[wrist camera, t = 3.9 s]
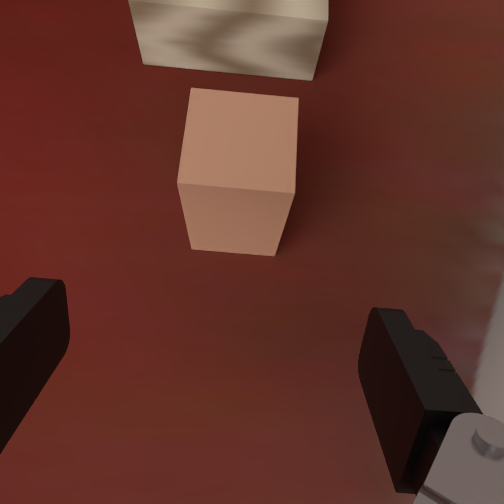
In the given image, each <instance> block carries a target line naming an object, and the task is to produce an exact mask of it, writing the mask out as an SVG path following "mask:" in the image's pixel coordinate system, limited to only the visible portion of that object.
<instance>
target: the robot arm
mask: <svg viewBox="0 0 504 504" xmlns="http://www.w3.org/2000/svg"><path fill="white" fill-rule="evenodd" d="M69 339H70V325H69V316H68V306H67V297H66V288H65V284H64V282H63V281H62V280H57V279H46V278H34V277H31V278H28V279H27V280H26V281H25V282H24V283H23V284H22V285H21V286H20V287H19V288H18V289H17V290H16V291H15V292H14V293H13V294H11V295H4V296H2V297H0V454H1V452H2V451H3V449H4V447H5V446H6V444H7V443H8V441H9V440H10V438H11V437H12V435H13V433H14V432H15V430H16V429H17V427H18V426H19V424H20V423H21V421H22V420H23V418H24V416H25V415H26V413H27V412H28V410H29V409H30V407H31V406H32V404H33V403H34V401H35V399H36V398H37V396H38V395H39V393H40V392H41V390H42V389H43V387H44V386H45V384H46V382H47V381H48V379H49V378H50V376H51V375H52V373H53V372H54V370H55V369H56V367H57V365H58V364H59V362H60V361H61V359H62V358H63V356H64V354H65V353H66V350H67V348H68V344H69ZM358 373H359V378H360V382H361V385H362V388H363V391H364V394H365V397H366V401H367V404H368V407H369V410H370V413H371V416H372V419H373V422H374V426H375V429H376V432H377V435H378V438H379V441H380V444H381V447H382V450H383V454H384V457H385V460H386V463H387V466H388V469H389V472H390V475H391V479H392V482H393V485H394V488H395V491H396V493H410V494H415V495H416V499H415V501H414V503H413V504H504V424H503V423H502V422H500V421H498V420H496V419H494V418H491V417H489V416H485V415H483V413H482V412H481V410H480V408H479V407H478V405H477V404H476V402H475V400H474V399H473V397H472V396H471V394H470V393H469V391H468V389H467V388H466V386H465V385H464V383H463V382H462V380H461V378H460V377H459V375H458V374H457V373H455V369H454V367H453V366H452V364H451V363H450V361H447V356H446V355H445V353H444V352H443V350H442V349H441V347H440V345H439V344H438V343H437V342H436V341H435V340H433V339H432V338H431V337H430V336H429V335H427V334H426V333H425V332H424V331H423V330H415V329H414V327H413V325H412V324H411V322H410V320H409V319H408V317H407V315H406V313H405V312H404V311H403V310H400V309H388V308H376V307H374V308H372V309H371V311H370V314H369V317H368V321H367V325H366V329H365V333H364V337H363V341H362V345H361V349H360V354H359V360H358Z"/></svg>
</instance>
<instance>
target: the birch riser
mask: <svg viewBox="0 0 504 504" xmlns="http://www.w3.org/2000/svg"><path fill="white" fill-rule="evenodd" d="M128 2H129V6H130V10H131V14H132V18H133V23H134V27H135V31H136V35H137V39H138V43H139V48H140V52H141V56H142V60H143V64H146V65H156V66H166V67H176V68H187V69H197V70H207V71H217V72H227V73H237V74H248V75H258V76H268V77H278V78H288V79H299V80H309V81H312V80H313V76H314V73H315V69H316V65H317V61H318V57H319V54H320V50H321V46H322V42H323V39H324V35H325V31H326V27H327V23H328V0H128Z"/></svg>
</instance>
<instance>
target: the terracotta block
mask: <svg viewBox="0 0 504 504" xmlns="http://www.w3.org/2000/svg"><path fill="white" fill-rule="evenodd" d="M298 100H299V98H293V97H282V96H272V95H262V94H251V93H241V92H230V91H220V90H209V89H199V88H191V92H190V99H189V105H188V112H187V119H186V126H185V132H184V139H183V146H182V153H181V159H180V166H179V173H178V179H177V185H178V190H179V194H180V199H181V203H182V208H183V212H184V217H185V221H186V226H187V230H188V235H189V239H190V244H191V248H192V249H195V250H207V251H219V252H231V253H243V254H254V255H266V256H275V254H276V251H277V248H278V245H279V242H280V238H281V235H282V232H283V229H284V226H285V223H286V220H287V217H288V214H289V210H290V207H291V204H292V201H293V198H294V195H295V180H296V153H297V127H298Z"/></svg>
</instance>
